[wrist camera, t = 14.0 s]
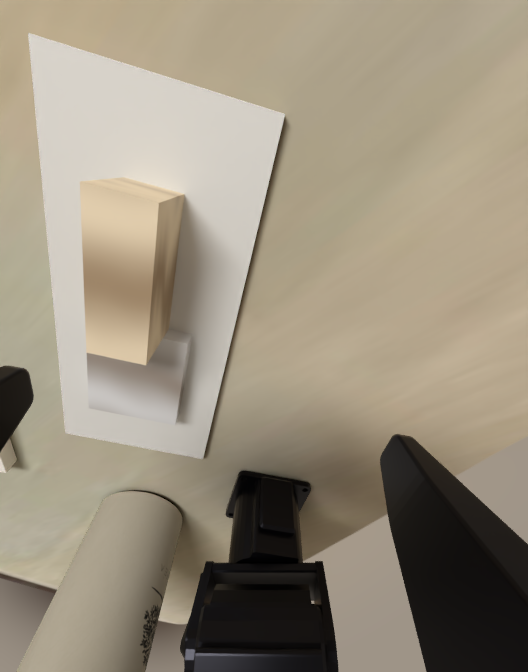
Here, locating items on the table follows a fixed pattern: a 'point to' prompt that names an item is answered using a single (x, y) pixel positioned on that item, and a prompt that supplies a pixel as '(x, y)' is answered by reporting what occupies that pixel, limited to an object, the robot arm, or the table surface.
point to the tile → (7, 457)
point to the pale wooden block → (132, 298)
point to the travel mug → (110, 590)
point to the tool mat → (166, 172)
